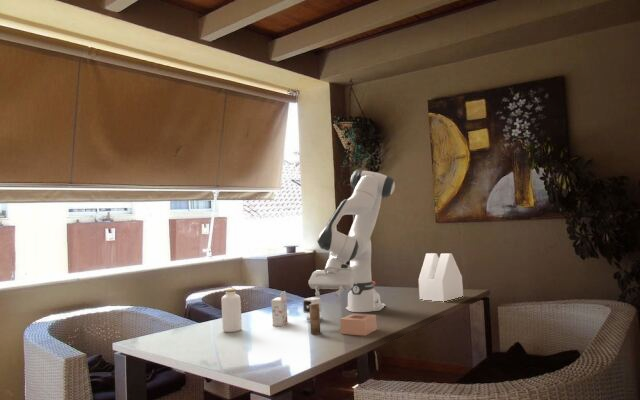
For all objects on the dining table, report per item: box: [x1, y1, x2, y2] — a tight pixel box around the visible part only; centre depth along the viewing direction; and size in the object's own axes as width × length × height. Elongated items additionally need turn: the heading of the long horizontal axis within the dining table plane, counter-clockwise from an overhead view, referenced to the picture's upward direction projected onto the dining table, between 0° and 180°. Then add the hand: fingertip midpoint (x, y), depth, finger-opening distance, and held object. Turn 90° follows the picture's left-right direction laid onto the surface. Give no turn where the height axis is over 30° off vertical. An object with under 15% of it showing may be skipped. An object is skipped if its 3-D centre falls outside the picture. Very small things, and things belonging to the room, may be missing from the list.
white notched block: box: [418, 252, 464, 303], centre depth 271 cm, size 19×15×25 cm
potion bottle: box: [221, 288, 243, 333], centre depth 217 cm, size 8×8×18 cm
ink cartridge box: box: [270, 290, 288, 327], centre depth 226 cm, size 9×5×15 cm, turn 168°
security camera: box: [302, 296, 323, 321], centre depth 231 cm, size 6×7×10 cm
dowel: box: [309, 303, 322, 335], centre depth 203 cm, size 4×4×12 cm
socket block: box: [339, 313, 378, 337], centre depth 201 cm, size 11×11×6 cm
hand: (327, 295), depth 210 cm, fingers open, 8 cm apart
